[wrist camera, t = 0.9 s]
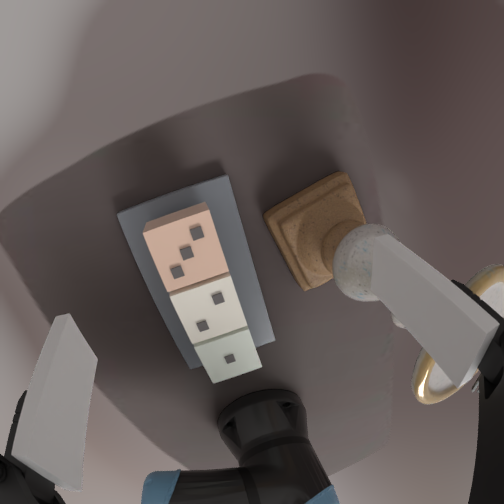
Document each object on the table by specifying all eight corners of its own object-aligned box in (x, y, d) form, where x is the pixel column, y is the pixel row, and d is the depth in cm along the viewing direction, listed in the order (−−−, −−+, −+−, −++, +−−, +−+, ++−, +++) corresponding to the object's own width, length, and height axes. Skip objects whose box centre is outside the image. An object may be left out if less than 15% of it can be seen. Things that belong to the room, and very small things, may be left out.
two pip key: (240, 308, 33) (248, 326, 29) (190, 325, 32) (192, 345, 29) (224, 261, 30) (231, 276, 27) (169, 280, 30) (169, 297, 26)
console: (272, 335, 39) (281, 352, 36) (189, 363, 38) (191, 382, 34) (226, 174, 30) (232, 178, 27) (118, 211, 29) (111, 220, 25)
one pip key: (254, 348, 35) (262, 368, 32) (209, 364, 35) (213, 384, 31) (241, 311, 33) (249, 330, 30) (191, 328, 32) (194, 348, 29)
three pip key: (223, 257, 30) (229, 272, 27) (167, 276, 29) (167, 293, 26) (205, 201, 28) (209, 210, 24) (146, 222, 27) (142, 233, 24)
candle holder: (339, 168, 33) (525, 227, 11) (366, 243, 38) (509, 339, 16) (260, 214, 33) (406, 348, 11) (298, 286, 37) (414, 430, 16)
